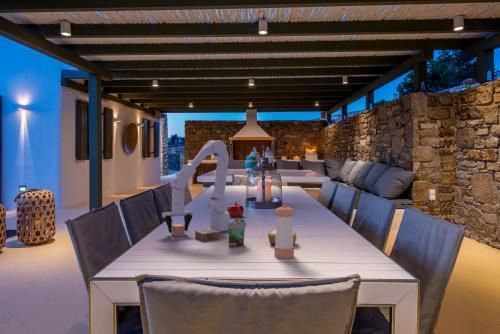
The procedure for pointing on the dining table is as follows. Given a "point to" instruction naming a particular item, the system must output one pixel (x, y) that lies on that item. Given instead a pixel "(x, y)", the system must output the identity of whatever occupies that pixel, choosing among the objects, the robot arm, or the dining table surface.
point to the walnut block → (207, 234)
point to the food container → (236, 232)
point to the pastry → (273, 234)
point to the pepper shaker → (284, 233)
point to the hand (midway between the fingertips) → (178, 231)
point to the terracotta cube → (178, 230)
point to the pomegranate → (235, 210)
